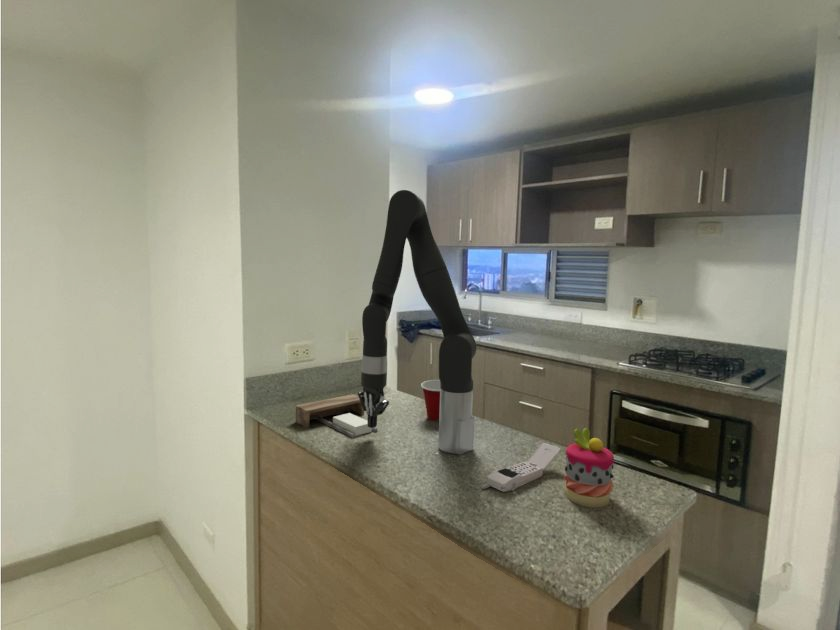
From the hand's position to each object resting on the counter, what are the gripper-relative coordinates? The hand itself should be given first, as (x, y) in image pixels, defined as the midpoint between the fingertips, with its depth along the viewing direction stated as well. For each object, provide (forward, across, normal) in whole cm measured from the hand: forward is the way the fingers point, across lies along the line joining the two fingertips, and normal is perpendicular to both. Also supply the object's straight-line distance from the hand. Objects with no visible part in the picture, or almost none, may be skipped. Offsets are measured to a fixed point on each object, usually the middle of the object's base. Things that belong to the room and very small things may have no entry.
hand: (371, 426), depth 140 cm
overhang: (+4, +15, 0) cm, 15 cm away
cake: (+2, -60, -18) cm, 62 cm away
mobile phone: (+3, -44, -14) cm, 47 cm away
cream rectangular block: (+4, +10, 0) cm, 11 cm away
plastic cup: (+3, +2, -28) cm, 28 cm away
